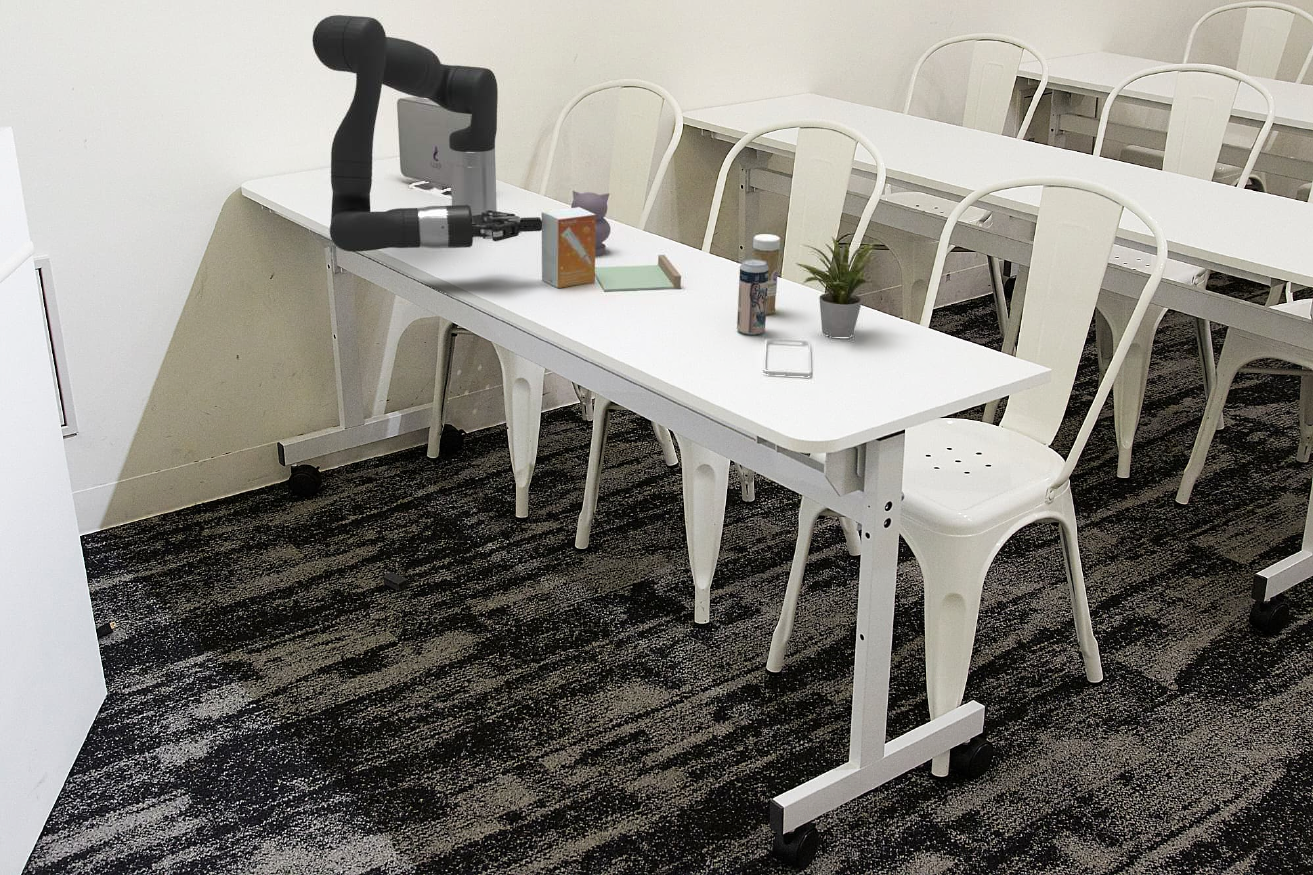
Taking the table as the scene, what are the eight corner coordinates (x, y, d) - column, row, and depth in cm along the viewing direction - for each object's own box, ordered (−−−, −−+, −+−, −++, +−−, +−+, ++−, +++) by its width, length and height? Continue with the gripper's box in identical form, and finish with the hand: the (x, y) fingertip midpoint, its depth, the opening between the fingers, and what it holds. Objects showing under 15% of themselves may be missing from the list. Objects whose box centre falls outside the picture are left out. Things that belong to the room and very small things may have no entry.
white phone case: (810, 381, 202) (809, 348, 215) (811, 373, 201) (810, 340, 215) (762, 378, 202) (764, 346, 216) (763, 370, 202) (765, 338, 215)
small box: (558, 289, 240) (557, 219, 234) (541, 280, 244) (540, 211, 239) (596, 282, 244) (596, 213, 238) (578, 274, 249) (578, 206, 243)
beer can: (756, 338, 218) (760, 268, 213) (731, 332, 220) (734, 263, 215) (770, 330, 221) (774, 261, 217) (745, 325, 224) (748, 256, 219)
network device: (393, 184, 311) (388, 98, 303) (422, 178, 317) (418, 94, 309) (467, 203, 296) (464, 113, 288) (495, 197, 302) (493, 108, 294)
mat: (591, 269, 251) (591, 257, 250) (664, 266, 254) (664, 254, 253) (604, 291, 239) (604, 278, 238) (680, 288, 242) (680, 275, 241)
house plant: (833, 312, 231) (841, 221, 224) (898, 332, 222) (908, 238, 216) (780, 330, 222) (787, 235, 215) (845, 351, 213) (854, 253, 206)
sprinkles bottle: (772, 317, 228) (777, 241, 223) (746, 313, 229) (751, 238, 224) (778, 309, 232) (783, 234, 227) (753, 306, 233) (757, 232, 228)
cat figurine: (562, 255, 260) (562, 195, 255) (575, 245, 267) (575, 186, 262) (603, 259, 258) (603, 199, 253) (615, 249, 265) (616, 190, 260)
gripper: (446, 215, 228) (546, 212, 231) (441, 197, 239) (536, 195, 243) (448, 257, 231) (546, 254, 234) (443, 237, 243) (537, 234, 246)
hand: (541, 224), depth 239 cm, fingers closed
